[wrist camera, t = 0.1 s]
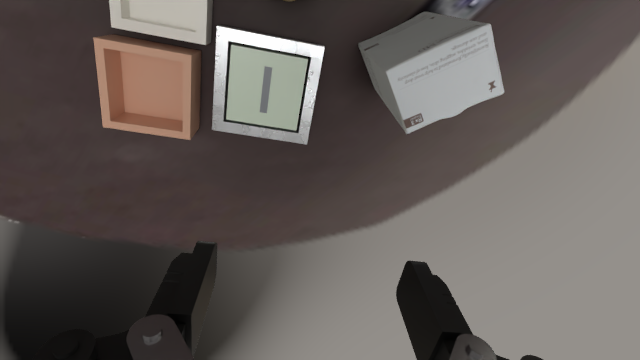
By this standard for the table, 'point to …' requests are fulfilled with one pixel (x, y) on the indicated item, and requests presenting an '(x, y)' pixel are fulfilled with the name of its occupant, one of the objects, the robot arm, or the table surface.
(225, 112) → the grey square slotted tray
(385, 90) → the skincare box
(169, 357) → the robot arm
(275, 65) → the plate
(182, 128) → the dish
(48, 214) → the table surface
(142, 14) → the trough
